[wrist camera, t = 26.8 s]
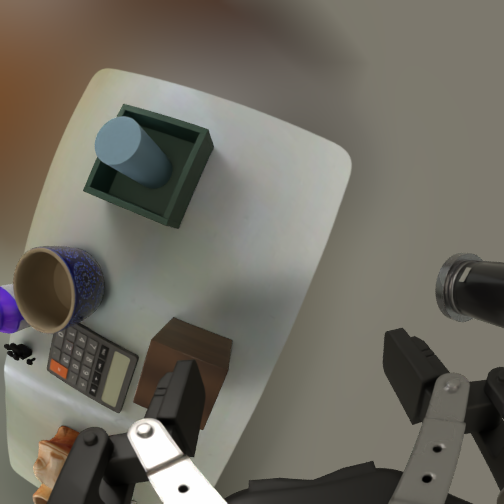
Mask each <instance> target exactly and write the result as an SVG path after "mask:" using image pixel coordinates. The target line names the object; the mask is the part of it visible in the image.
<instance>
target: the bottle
mask: <svg viewBox="0 0 504 504" xmlns="http://www.w3.org/2000/svg"><path fill="white" fill-rule="evenodd" d="M28 327H31V326H30V325H29V324H28V323H27V322H26V320H25V319H24V318H23V316H22V315H21V313H20V311H19V309H18V306H17V304H16V301H15V297H14V290H13V284H9V285H3V286H0V332H3V333H14V332H17V331H20V330H22V329H25V328H28Z"/></svg>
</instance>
